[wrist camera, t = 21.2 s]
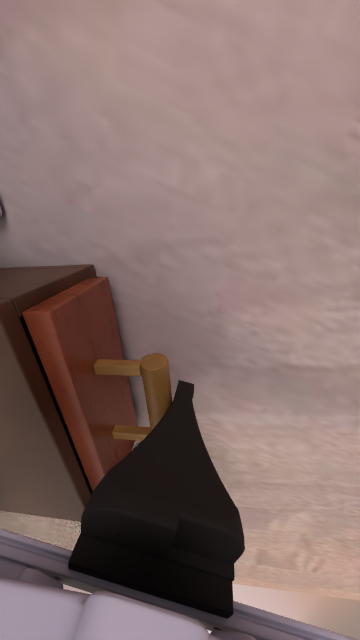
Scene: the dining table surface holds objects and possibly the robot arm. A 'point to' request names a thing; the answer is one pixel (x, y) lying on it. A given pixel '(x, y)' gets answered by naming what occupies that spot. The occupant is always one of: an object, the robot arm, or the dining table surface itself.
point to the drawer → (94, 375)
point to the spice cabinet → (34, 406)
